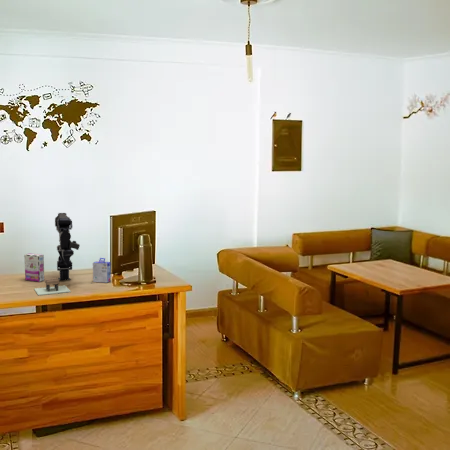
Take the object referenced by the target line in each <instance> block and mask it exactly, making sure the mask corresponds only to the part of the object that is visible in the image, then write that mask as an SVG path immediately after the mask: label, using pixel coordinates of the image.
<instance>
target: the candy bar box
mask: <svg viewBox="0 0 450 450" xmlns="http://www.w3.org/2000/svg"><path fill="white" fill-rule="evenodd" d="M23 257H24V275H25V276H24V279H25V281H30V282H39V283H40V282H41V283H42V282H45V262H44V258H45V257H44V254H42V253H41V254H40V253H39V254H38V253H25V254H24V256H23Z"/></svg>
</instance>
